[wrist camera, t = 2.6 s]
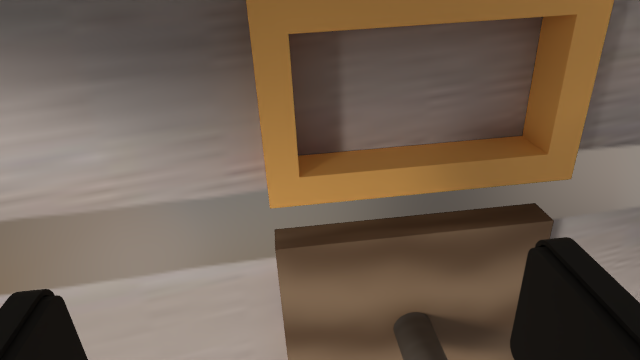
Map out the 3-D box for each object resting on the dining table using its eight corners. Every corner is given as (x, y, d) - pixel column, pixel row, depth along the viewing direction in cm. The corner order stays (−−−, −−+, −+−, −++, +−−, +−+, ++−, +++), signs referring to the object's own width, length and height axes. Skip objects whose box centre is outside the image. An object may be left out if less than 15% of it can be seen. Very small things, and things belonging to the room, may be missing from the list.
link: (269, 184, 25) (270, 208, 23) (247, -10, 20) (245, -5, 18) (543, 158, 26) (571, 179, 24) (582, -31, 21) (620, -28, 19)
